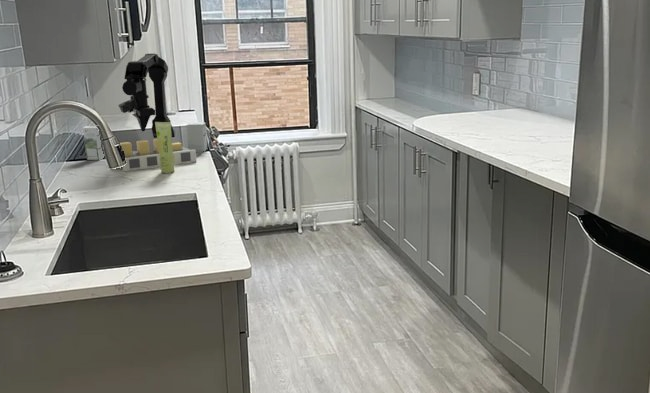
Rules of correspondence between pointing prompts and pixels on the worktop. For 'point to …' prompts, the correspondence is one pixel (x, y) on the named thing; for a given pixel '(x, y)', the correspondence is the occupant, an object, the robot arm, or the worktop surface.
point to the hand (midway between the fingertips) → (143, 131)
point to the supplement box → (197, 136)
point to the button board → (152, 153)
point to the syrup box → (92, 143)
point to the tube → (165, 146)
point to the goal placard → (158, 160)
